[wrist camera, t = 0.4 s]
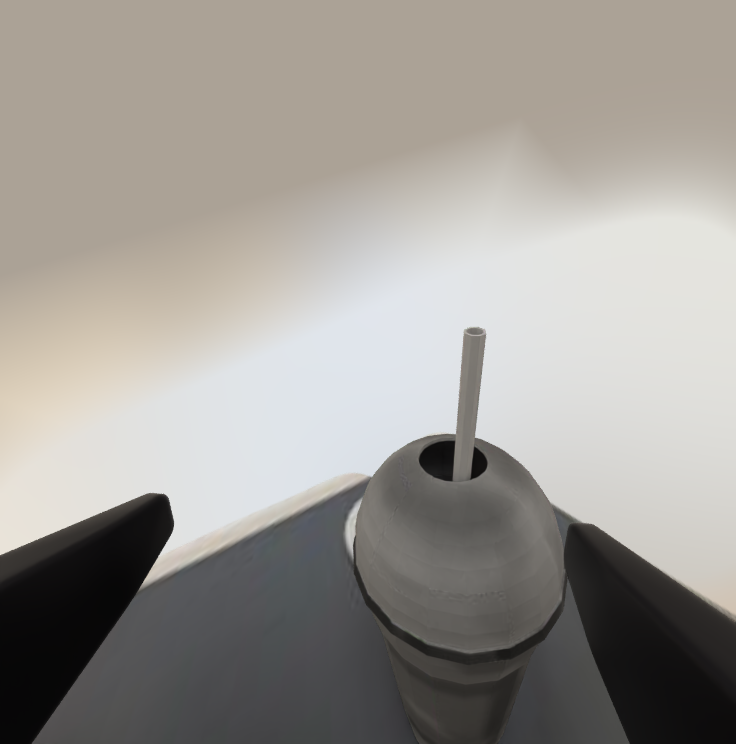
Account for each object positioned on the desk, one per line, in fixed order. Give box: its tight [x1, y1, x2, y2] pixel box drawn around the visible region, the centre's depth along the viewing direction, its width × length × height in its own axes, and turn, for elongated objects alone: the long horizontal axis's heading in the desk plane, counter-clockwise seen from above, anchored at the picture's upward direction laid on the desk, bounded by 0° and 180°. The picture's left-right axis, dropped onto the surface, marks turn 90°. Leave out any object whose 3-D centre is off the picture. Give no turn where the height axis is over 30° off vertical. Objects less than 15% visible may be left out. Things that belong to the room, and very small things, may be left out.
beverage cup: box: [353, 327, 567, 744], centre depth 13 cm, size 7×7×20 cm
